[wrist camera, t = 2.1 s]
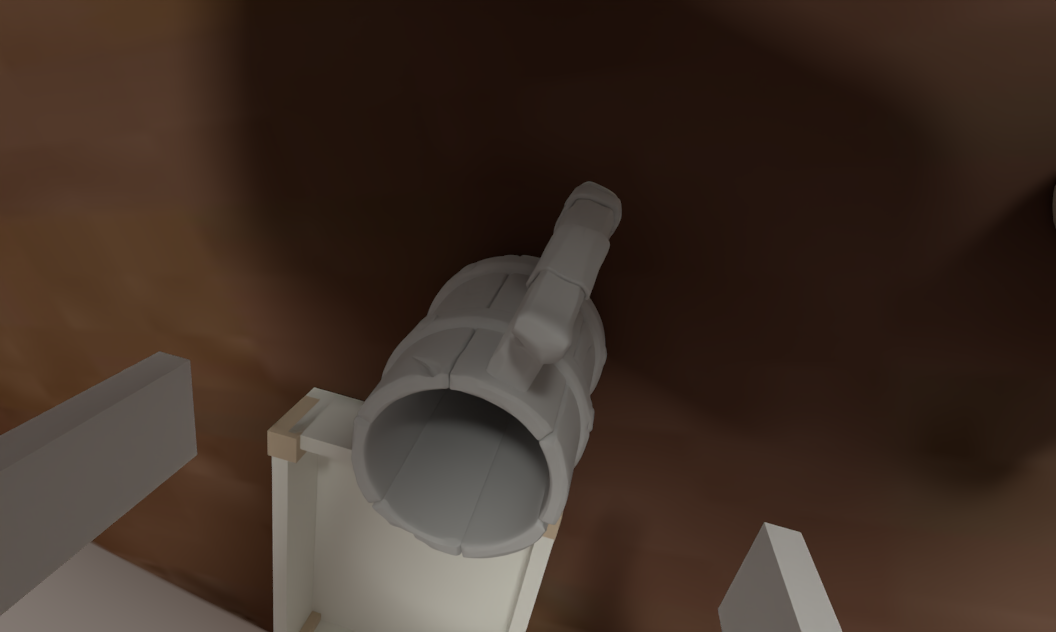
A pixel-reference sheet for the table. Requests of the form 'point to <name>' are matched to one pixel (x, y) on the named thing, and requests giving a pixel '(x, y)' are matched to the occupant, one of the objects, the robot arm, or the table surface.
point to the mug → (492, 394)
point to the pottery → (1054, 206)
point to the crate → (373, 546)
